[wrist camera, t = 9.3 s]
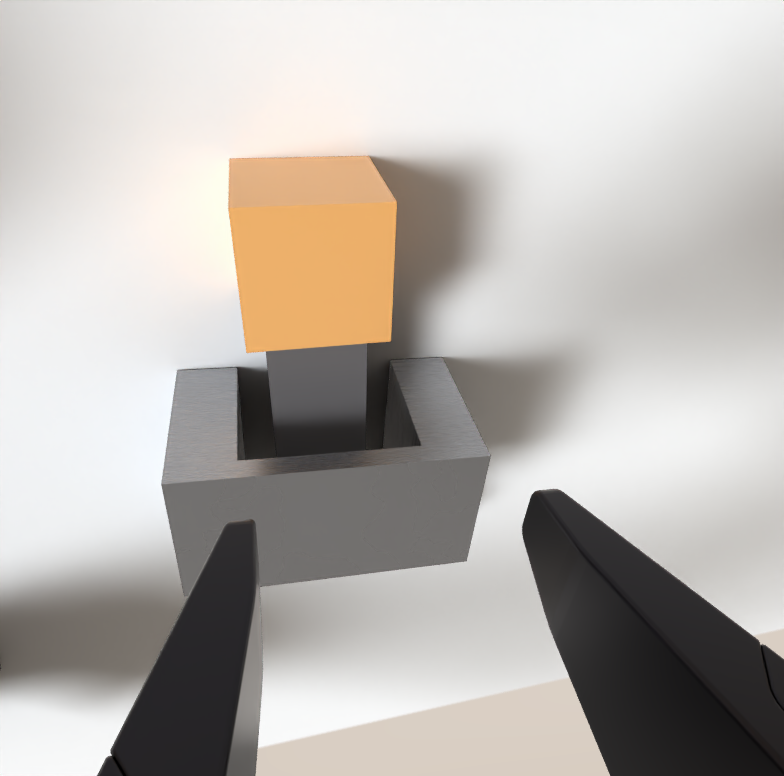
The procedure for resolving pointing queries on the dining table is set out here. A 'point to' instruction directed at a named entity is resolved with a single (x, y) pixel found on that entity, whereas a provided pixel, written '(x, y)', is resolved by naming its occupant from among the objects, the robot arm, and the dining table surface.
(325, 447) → the plug
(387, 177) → the dining table surface
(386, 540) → the housing
